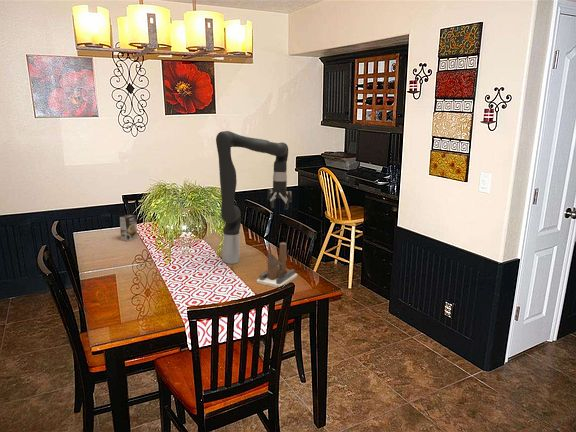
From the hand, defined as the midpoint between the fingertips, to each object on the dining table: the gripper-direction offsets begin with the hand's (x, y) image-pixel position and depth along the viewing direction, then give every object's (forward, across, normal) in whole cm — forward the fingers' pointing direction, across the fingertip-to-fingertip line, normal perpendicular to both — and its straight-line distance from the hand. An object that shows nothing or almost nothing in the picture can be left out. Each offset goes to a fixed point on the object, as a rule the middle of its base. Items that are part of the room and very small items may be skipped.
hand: (279, 208), depth 242 cm
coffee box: (+34, +112, +5) cm, 117 cm away
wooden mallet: (+33, -9, +17) cm, 38 cm away
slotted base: (+34, -9, +17) cm, 39 cm away
